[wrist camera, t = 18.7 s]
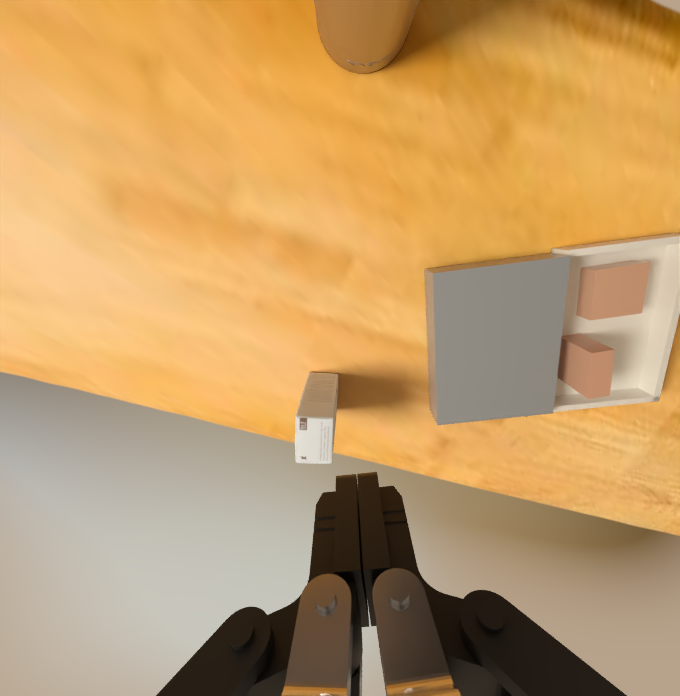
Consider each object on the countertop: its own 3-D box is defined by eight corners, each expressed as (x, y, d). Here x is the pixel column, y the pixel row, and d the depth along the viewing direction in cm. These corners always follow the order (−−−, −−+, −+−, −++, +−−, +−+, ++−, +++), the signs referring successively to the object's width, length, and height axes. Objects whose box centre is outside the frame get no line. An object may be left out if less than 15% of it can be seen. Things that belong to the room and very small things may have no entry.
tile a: (650, 262, 37) (632, 260, 40) (595, 270, 38) (580, 267, 40) (642, 313, 39) (625, 308, 42) (590, 320, 40) (576, 315, 42)
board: (424, 268, 41) (433, 273, 37) (549, 253, 40) (570, 255, 36) (429, 409, 47) (437, 425, 44) (536, 398, 47) (553, 413, 43)
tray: (551, 248, 40) (567, 250, 37) (672, 233, 39) (698, 233, 36) (537, 401, 47) (550, 412, 44) (639, 390, 46) (659, 400, 43)
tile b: (591, 353, 37) (614, 349, 37) (559, 336, 43) (578, 333, 43) (588, 399, 39) (609, 395, 39) (557, 377, 45) (576, 374, 45)
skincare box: (337, 409, 48) (335, 467, 36) (306, 408, 47) (294, 465, 36) (338, 370, 45) (337, 419, 34) (306, 369, 45) (294, 417, 34)
